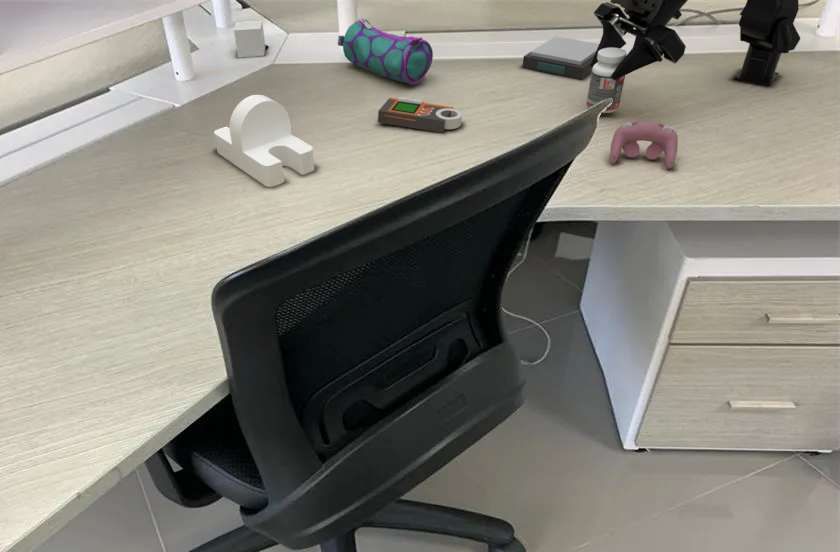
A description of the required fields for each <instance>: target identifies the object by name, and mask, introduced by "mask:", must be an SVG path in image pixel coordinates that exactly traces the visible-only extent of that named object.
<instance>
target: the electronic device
mask: <svg viewBox="0 0 840 552" xmlns="http://www.w3.org/2000/svg"><path fill="white" fill-rule="evenodd" d="M462 118H463V113H462V111H460V110H458V109H455V108H454V106H449V105H441V104H436V103H435V104H434V103H427V102H424V100H422V99H417V98H411V97H404V96H399V98H397V97H389V98H388V99H387V100H386V101H385V102H384V103H383V104H382V105H381V107H380V109H379V110H378V111H377V123H382V124H386V125H387V124H388V125H393V126H399V127H405V128H411V129H418V130H424V131H429V132H435V133H444V132H445V130H454V129H458V128H460V127H461V125H462Z"/></svg>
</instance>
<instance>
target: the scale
mask: <svg viewBox="0 0 840 552" xmlns="http://www.w3.org/2000/svg"><path fill="white" fill-rule="evenodd" d="M599 44H600V43H596V42H592V41H591V42H590V41H585V40H580V39H573V38H568V37H562V36H556V35H554V36H552V38H550V39H548V40H547V41H545V42H544V43H542V44H541V45H539V46H537V47H536V48H534V49H532V50H531V51H530V52H528V53H527V54H524V55H523V58H522V66H521V67H522V68H523V69H526V70H531V71H532V70H533V71H537V72H542V73H547V74H552V75H557V76H561V77H567V78H570V79H576V80H580V81H581V80H583V79H584V78H585V77H587V76H588V75H591V73H592V67H591V66H590V64H591V62H592V59H593V57H594V55H595V53H596V50H597V48H598V46H599Z"/></svg>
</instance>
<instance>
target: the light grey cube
mask: <svg viewBox="0 0 840 552" xmlns="http://www.w3.org/2000/svg"><path fill="white" fill-rule="evenodd" d="M233 34H234V39H235V40H234V41H235V47H236V54H237V58H250V57H264V56H265V53H266V40H265V33H264V23H263V20H262V19H261V20H249V21H248V20H247V21H236V23H235V26H234V29H233Z"/></svg>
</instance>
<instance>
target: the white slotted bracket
mask: <svg viewBox="0 0 840 552" xmlns="http://www.w3.org/2000/svg"><path fill="white" fill-rule="evenodd" d="M213 134H214V140H215V146H216V150H217V154H218V155H220V156H221V157H223V158H224V159H225V160H227V161H228V162H230V163H231V164H233V165H234V166H236V167H237V168H239V169H240V170H242V171H243V172H245V174H247V175H249V176H250V177H251V178H253V179H254V180H256V181H257V182H258V183H260V184H262V185H263V186H264V187H267V188H274V187H276V186H278V185H281V184H283V183H285V177H284V176H285V175H284V168H283V167H288V168H290V169H292V170H293V171H295V172H297V173H298V174H300V175H301V176H304V175H307V174H309V173H311V172H314V171H315V159H314V158H315V157H314V156H315V155H314V147H313V146H312V145H310V144H309V143H307V142H305V141H303V140H302V139H300V138H298V137H296V136H294V135H293V134H292V125H291V119H290V115H289V113H288V112H287V109H286V108H285V107H284V106H283V105H282V104H281V103H279V102H277V101H276V100H274V99H271V98H270V97H268V96H266V95H262V94H252V95H249V96H247V97H245V98H243V99H242V100H240V102H238V104H237V105H236V107H235V108H234V109H233V111H232V114H231V116H230V120H229V127H228V126H224V127H220V128H217V129H215V130H214V131H213Z"/></svg>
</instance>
